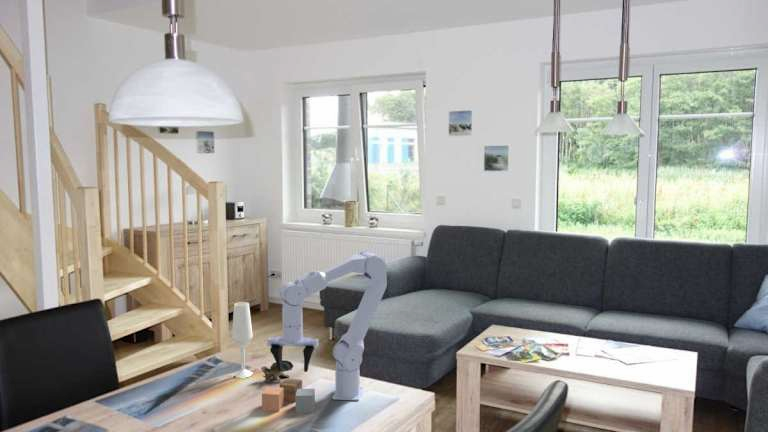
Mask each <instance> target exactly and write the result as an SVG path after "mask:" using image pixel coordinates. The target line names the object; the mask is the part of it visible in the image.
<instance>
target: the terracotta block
mask: <svg viewBox="0 0 768 432" xmlns="http://www.w3.org/2000/svg"><path fill="white" fill-rule="evenodd" d="M284 404H285V401H284V388H280V387H273V386H266V388H265V389H264V390H263V391H262V393H261V411H264V412H266V411H267V412H280V411H281V410H282V408H283V407H284Z"/></svg>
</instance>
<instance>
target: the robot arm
mask: <svg viewBox="0 0 768 432" xmlns="http://www.w3.org/2000/svg"><path fill="white" fill-rule="evenodd" d="M388 268H389V266H388V264H387V262H386V260H385V258H384V257H383V256H381V255H378V254H375V253H372V252H371V251H369V250H362V251H360V252H359V253H355V254H353V255H351V256H350V257H349V258H347V259H344V260H343V261H341V262H339V263H338V264H336V265H334V266H332V267H330V268H328V269H326V270H324V271H320V270H313V269H312V270H310V271H309V272H308V274H307V275H305V276H302V277H301V278H295V279H294V282H293V281H289V282H286V283H284V284H282V286H281V288H280V291H279V296H280V298H281V299H282V309H281V310H282V311H281V313H282V314H281V316H282V317H281V319H282V336H277V337H276V336H274V337H268V338H267V340H266V341H267V342H266V343H267V346H268V347H270V348H269V350H270V353H271V354H272V356H273V358H274V360H275V363H277V367H278V371H281V369H282V365H283V364H282V360H283V349H284V348H283V347H285V346H286V347H304V348H303V350H302V352H303V353H302V354H303V360H304V361H303V372H304V373H308V370H309V365H310V362H311V358H312V355H313V353H314V350H315V348H316V349H317V348H318V347H319V338H310V337H305V336H304V334H303V333H304V330H303V329H304V328H303V326H304V324H303V323H304V322H303V321H304V320H303V313H304V312H303V302H304V301H305V299H306V298H309V297H310V296H312V295H314V294H317V293H319V292H320V291H323V290H324V289H326V288H327V286H328V284H329V282H333V281H334V280H337V279H339V278H342V277H344V276H346V275H348V274H351V273H358V274H362V275H363V276H364V278H365V281H366V283H367V287H366V290H364V293H363V295H362V298H361V300H360V302H359V305H358V307H357V309H356V311H355V314H354V317H353V318H352V320H351V323H350V325H349V327H348V330H347V332H346V333H344V334H342V336H341V337H340V339H339V341H338V342H337V343H335V345H334V346H333V349H332V356H333V357H334V359H335V360H336V362H335V366H334V367H335V370H334V371H335V379H334V380H335V391H334V393H333V395H332V397H331V398H332V400H336V401H360V397H361V395H362V392H363V390H364V387H363V386H360V385H361V384H360V383H361V381H360V378H361V376H360V374H361V373H360V371H361V370H360V366H361V364H362V362H363V353H364V350H365V345H364V339H365V337H366V335H367V332H368V330H369V328H370V325H371V323H372V321H373V319H374V317H375V315H376V312H377V309H378V307H379V305H380V303H381V300H382V299H383V297H384V294H385V291H386V289H387V286H388V279H387V277H388V276H387V271H388Z"/></svg>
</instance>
